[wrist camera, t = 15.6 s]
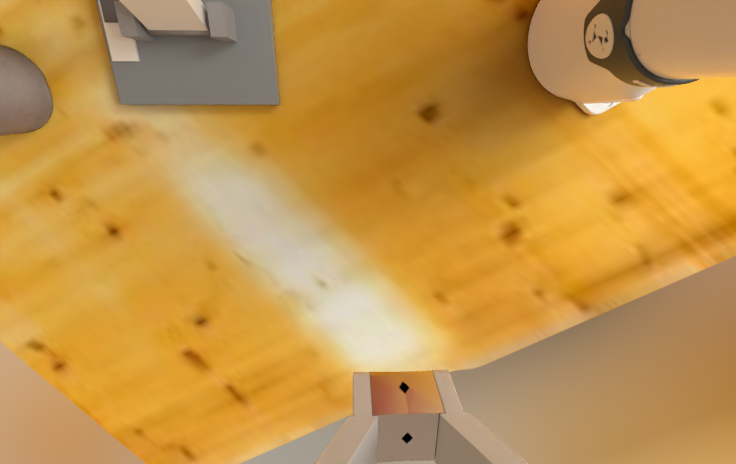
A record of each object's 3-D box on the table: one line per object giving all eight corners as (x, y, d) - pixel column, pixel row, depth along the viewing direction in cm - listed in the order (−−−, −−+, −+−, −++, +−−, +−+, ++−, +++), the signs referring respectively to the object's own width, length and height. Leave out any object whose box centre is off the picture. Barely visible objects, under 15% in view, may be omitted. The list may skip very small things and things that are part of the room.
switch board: (280, 104, 42) (271, 105, 38) (128, 104, 42) (100, 105, 37) (266, -58, 36) (254, -81, 32) (89, -62, 36) (50, -85, 31)
